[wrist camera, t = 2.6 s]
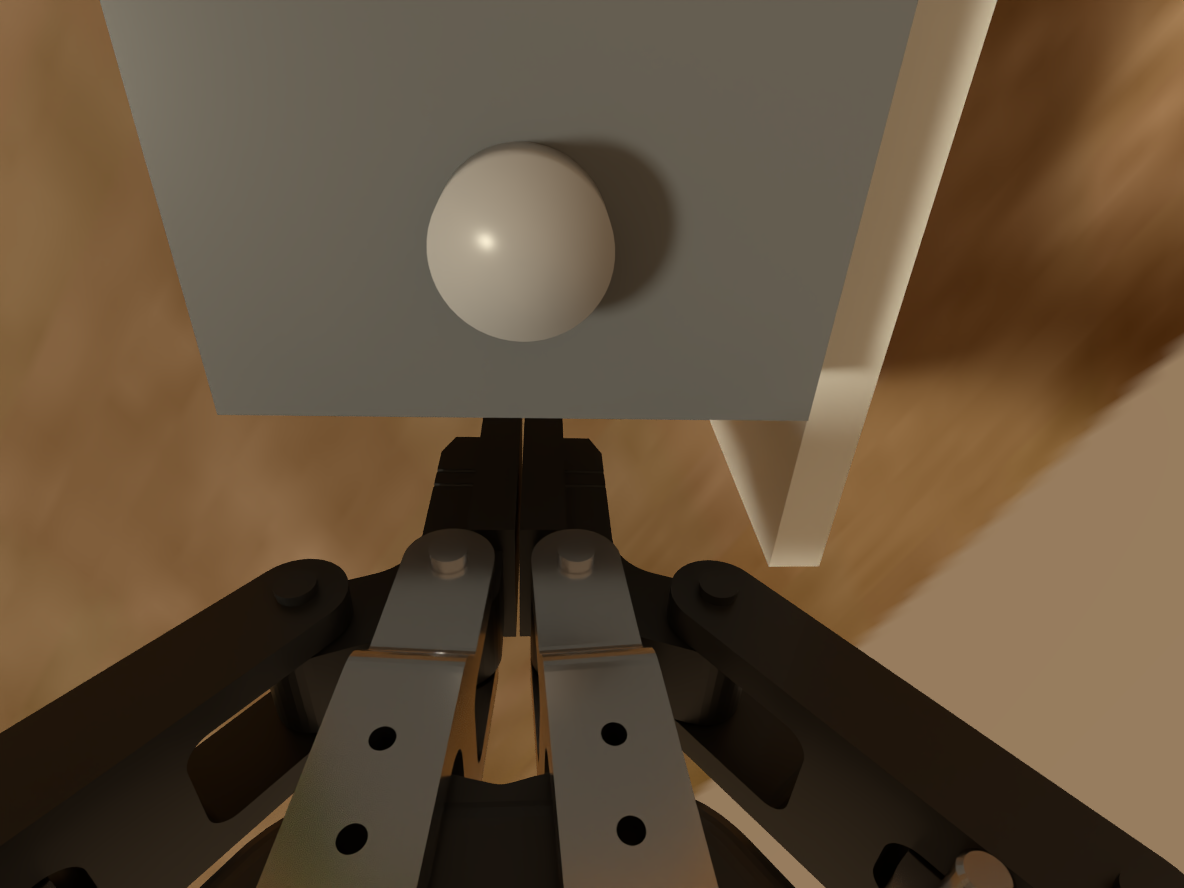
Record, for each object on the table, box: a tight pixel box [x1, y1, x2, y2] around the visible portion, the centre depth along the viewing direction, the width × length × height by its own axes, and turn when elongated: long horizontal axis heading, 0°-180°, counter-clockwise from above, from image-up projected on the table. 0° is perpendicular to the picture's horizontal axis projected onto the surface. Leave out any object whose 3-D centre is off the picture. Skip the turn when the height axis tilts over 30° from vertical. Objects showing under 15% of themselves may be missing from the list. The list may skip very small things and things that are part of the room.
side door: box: [710, 0, 997, 567], centre depth 12 cm, size 17×2×7 cm, turn 177°
